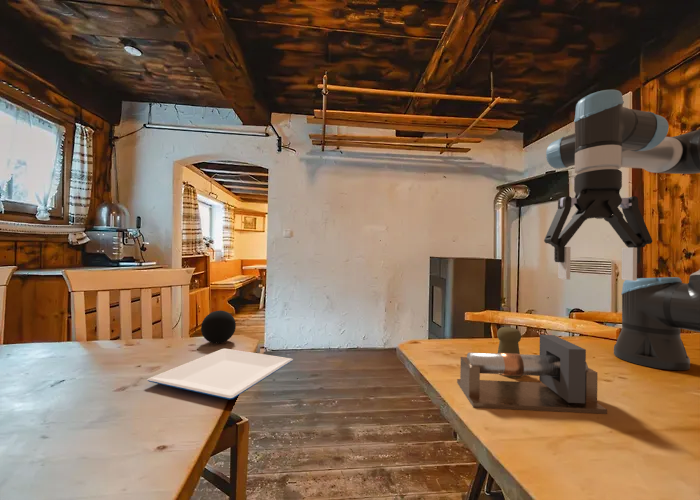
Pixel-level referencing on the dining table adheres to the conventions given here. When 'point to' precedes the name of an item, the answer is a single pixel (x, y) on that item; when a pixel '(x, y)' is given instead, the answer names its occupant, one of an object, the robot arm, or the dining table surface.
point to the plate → (222, 372)
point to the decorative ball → (218, 327)
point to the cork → (509, 342)
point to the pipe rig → (521, 383)
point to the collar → (565, 368)
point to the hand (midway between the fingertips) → (596, 279)
